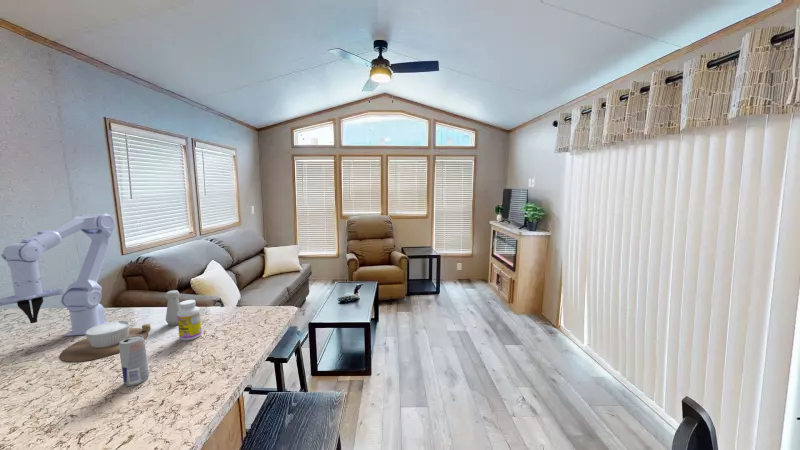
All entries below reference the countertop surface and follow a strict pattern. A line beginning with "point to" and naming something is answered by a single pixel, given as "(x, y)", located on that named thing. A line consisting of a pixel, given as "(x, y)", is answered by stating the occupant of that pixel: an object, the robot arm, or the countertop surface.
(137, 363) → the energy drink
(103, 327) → the ramekin
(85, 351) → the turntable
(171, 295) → the salt shaker
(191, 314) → the supplement bottle
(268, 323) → the countertop surface
